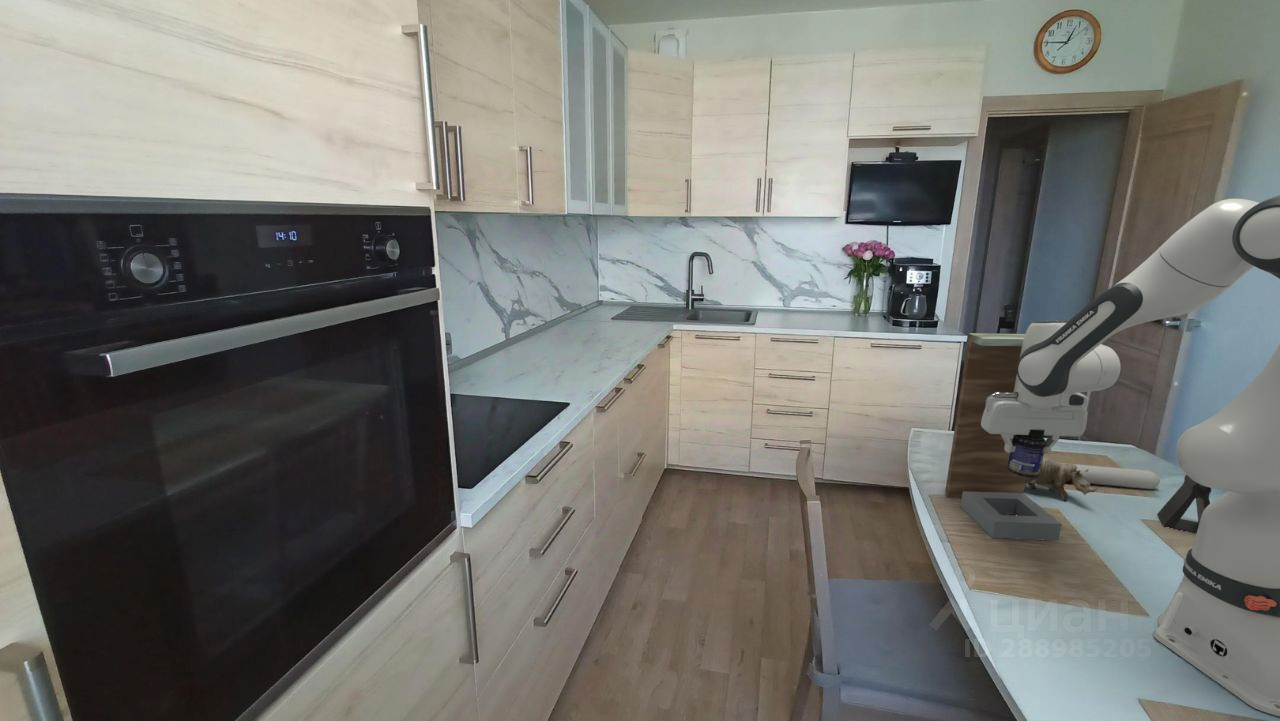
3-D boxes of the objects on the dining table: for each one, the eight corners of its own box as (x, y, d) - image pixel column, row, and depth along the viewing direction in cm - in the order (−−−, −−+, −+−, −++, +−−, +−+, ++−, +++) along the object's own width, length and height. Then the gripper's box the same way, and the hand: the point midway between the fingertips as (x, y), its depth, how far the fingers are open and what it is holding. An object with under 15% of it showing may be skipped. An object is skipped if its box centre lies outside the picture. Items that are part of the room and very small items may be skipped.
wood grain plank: (1033, 508, 136) (1065, 339, 126) (956, 506, 137) (982, 338, 127) (1018, 496, 142) (1048, 334, 131) (944, 494, 143) (969, 333, 132)
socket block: (1058, 540, 122) (1061, 523, 121) (991, 538, 123) (994, 521, 122) (1020, 508, 136) (1023, 493, 135) (960, 506, 137) (962, 491, 136)
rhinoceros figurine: (1004, 467, 152) (1052, 434, 143) (1049, 506, 148) (1101, 475, 138) (998, 479, 147) (1047, 446, 137) (1045, 520, 142) (1098, 489, 133)
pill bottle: (1044, 480, 123) (1055, 433, 120) (1013, 477, 124) (1023, 430, 121) (1031, 467, 129) (1041, 422, 126) (1002, 464, 130) (1011, 420, 127)
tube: (1150, 469, 149) (1044, 460, 154) (1164, 471, 144) (1054, 461, 148) (1149, 489, 148) (1043, 479, 153) (1164, 492, 143) (1054, 482, 148)
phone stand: (1208, 525, 129) (1222, 477, 126) (1217, 538, 124) (1231, 488, 121) (1156, 515, 133) (1168, 468, 130) (1163, 526, 128) (1175, 478, 125)
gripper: (995, 396, 119) (985, 456, 123) (1097, 398, 118) (1084, 459, 121) (980, 387, 125) (971, 445, 129) (1077, 389, 124) (1064, 448, 128)
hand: (1026, 452), depth 125 cm, fingers closed on pill bottle, 6 cm apart
